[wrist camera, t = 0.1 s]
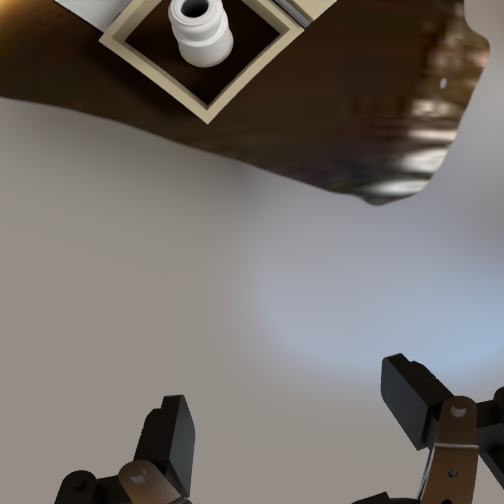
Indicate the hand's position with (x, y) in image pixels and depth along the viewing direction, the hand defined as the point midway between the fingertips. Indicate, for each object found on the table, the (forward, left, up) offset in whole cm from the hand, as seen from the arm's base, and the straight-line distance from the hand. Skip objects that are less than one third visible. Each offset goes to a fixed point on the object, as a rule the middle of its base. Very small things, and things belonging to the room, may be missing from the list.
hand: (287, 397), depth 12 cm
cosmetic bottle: (-12, +8, -32) cm, 35 cm away
